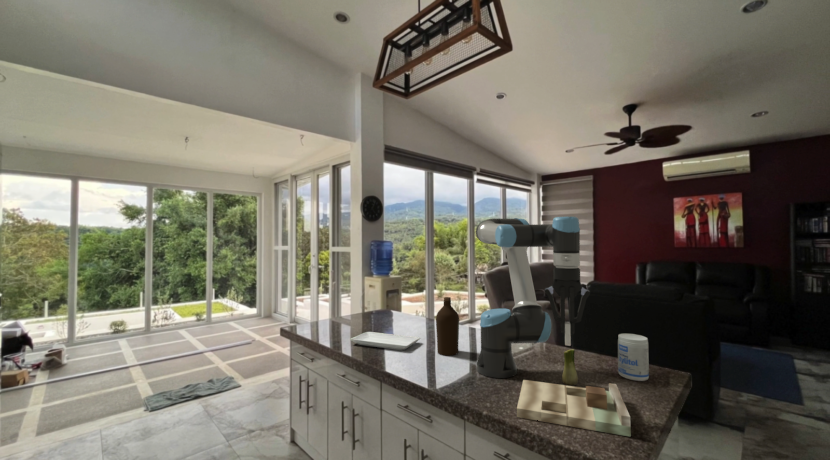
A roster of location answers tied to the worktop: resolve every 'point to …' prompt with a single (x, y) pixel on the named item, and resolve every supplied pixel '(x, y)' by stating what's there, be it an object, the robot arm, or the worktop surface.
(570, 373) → the fennel bulb
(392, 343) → the tray
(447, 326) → the olive oil
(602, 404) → the block
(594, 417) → the board
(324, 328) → the worktop surface
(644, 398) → the worktop surface
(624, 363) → the supplement tub
